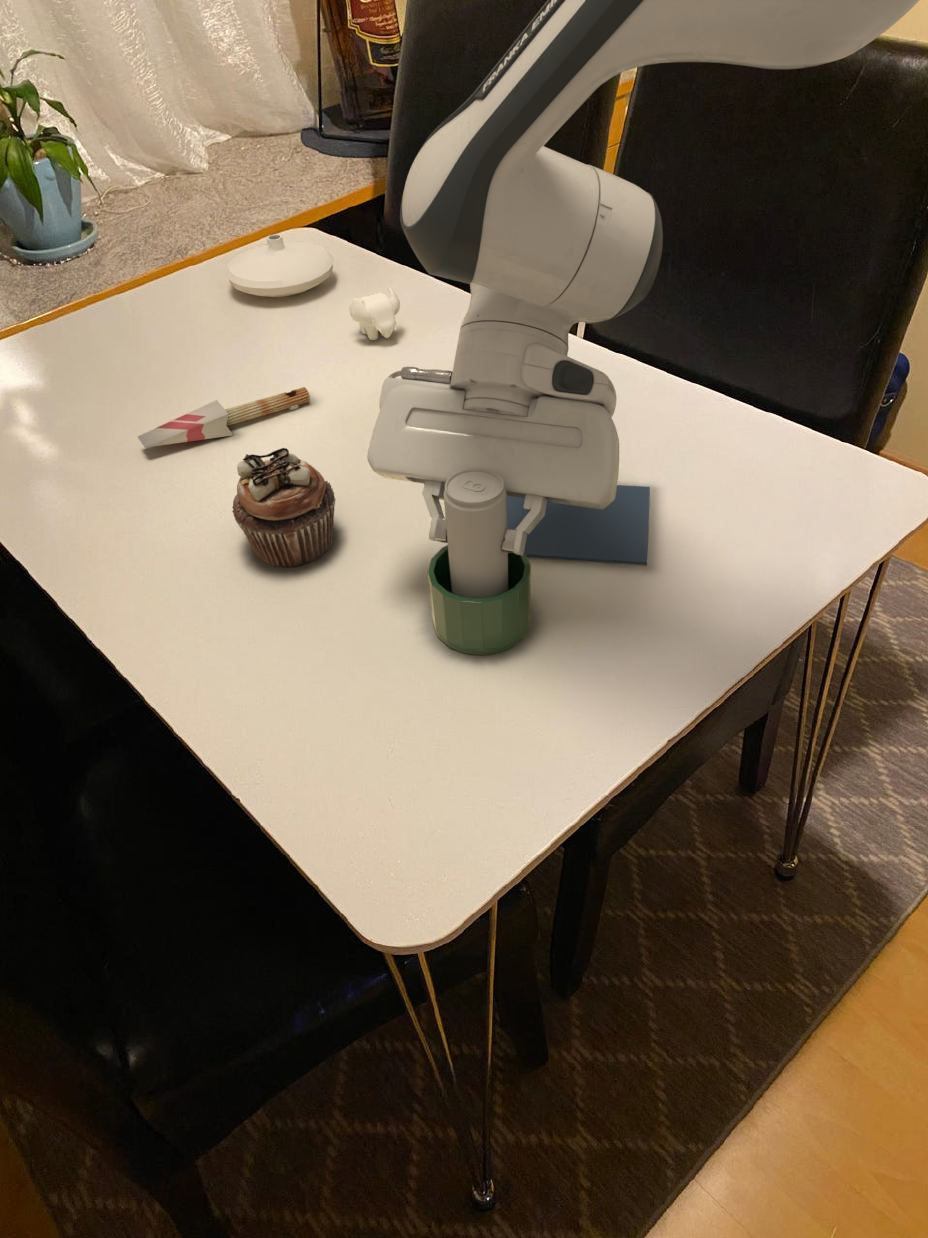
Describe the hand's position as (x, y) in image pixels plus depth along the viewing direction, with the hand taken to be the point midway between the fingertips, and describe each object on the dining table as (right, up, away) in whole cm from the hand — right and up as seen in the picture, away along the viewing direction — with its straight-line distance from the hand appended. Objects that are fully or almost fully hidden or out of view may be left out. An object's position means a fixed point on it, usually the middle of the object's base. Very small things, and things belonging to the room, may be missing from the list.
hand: (476, 547), depth 72 cm
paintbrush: (-28, +16, +32) cm, 46 cm away
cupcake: (-18, +2, +16) cm, 24 cm away
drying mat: (+9, +4, +16) cm, 19 cm away
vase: (-28, +43, +61) cm, 80 cm away
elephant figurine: (-12, +32, +48) cm, 59 cm away
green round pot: (+1, -6, +6) cm, 9 cm away
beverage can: (0, -4, +5) cm, 7 cm away
